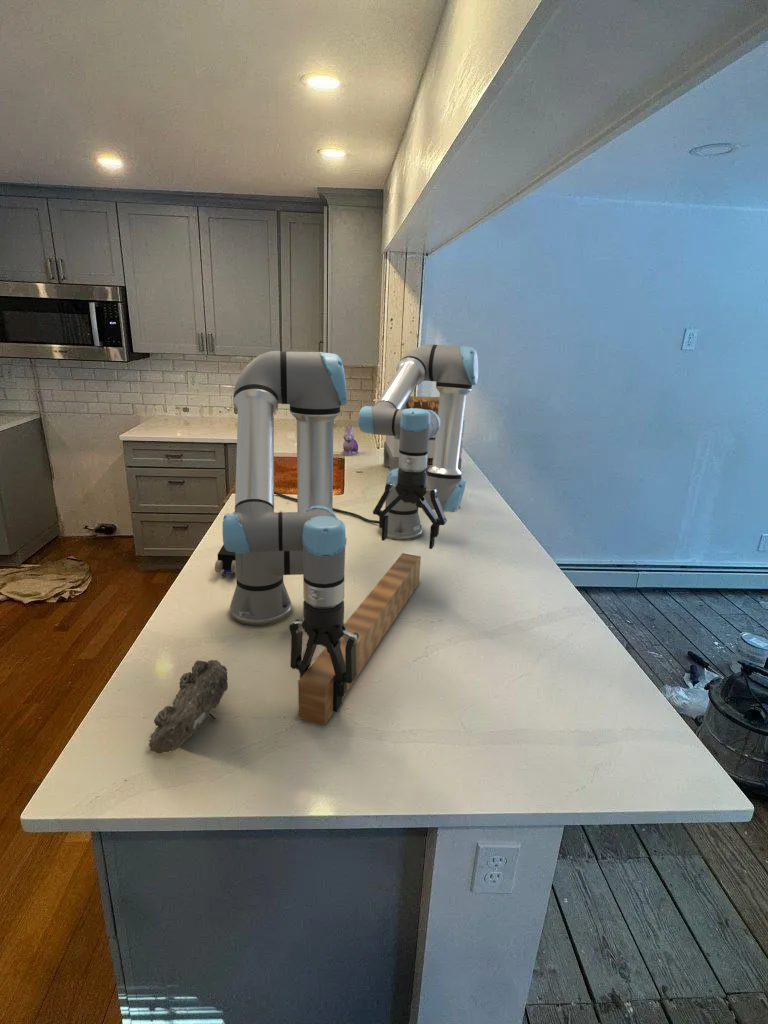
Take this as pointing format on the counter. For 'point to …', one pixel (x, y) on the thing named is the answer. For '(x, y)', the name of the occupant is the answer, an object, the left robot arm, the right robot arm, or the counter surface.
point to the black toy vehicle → (225, 562)
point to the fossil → (189, 705)
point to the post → (371, 628)
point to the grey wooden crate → (393, 441)
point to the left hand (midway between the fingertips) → (322, 703)
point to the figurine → (349, 442)
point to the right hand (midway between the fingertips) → (407, 543)
